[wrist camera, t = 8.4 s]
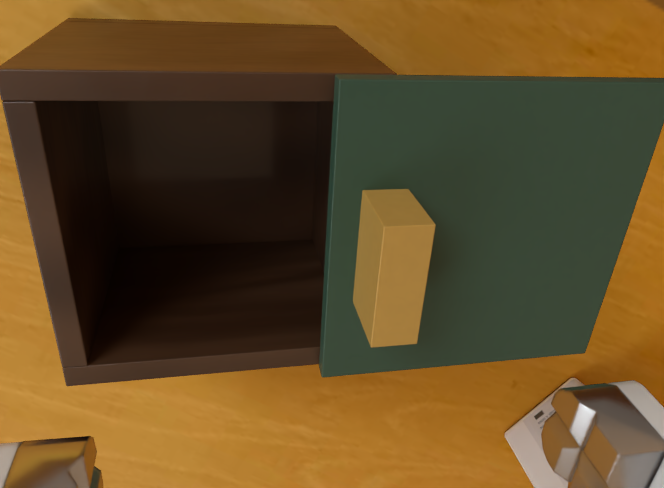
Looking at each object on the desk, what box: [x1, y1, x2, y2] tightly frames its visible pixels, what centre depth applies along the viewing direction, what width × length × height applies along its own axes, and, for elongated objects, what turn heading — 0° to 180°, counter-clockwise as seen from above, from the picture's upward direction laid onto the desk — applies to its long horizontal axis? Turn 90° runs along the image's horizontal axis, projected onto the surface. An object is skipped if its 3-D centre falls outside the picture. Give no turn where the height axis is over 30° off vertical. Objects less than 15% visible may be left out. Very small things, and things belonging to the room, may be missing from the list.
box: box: [0, 18, 397, 386], centre depth 27 cm, size 13×13×11 cm
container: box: [505, 378, 585, 488], centre depth 43 cm, size 8×8×13 cm
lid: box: [319, 74, 664, 377], centre depth 22 cm, size 13×13×4 cm
